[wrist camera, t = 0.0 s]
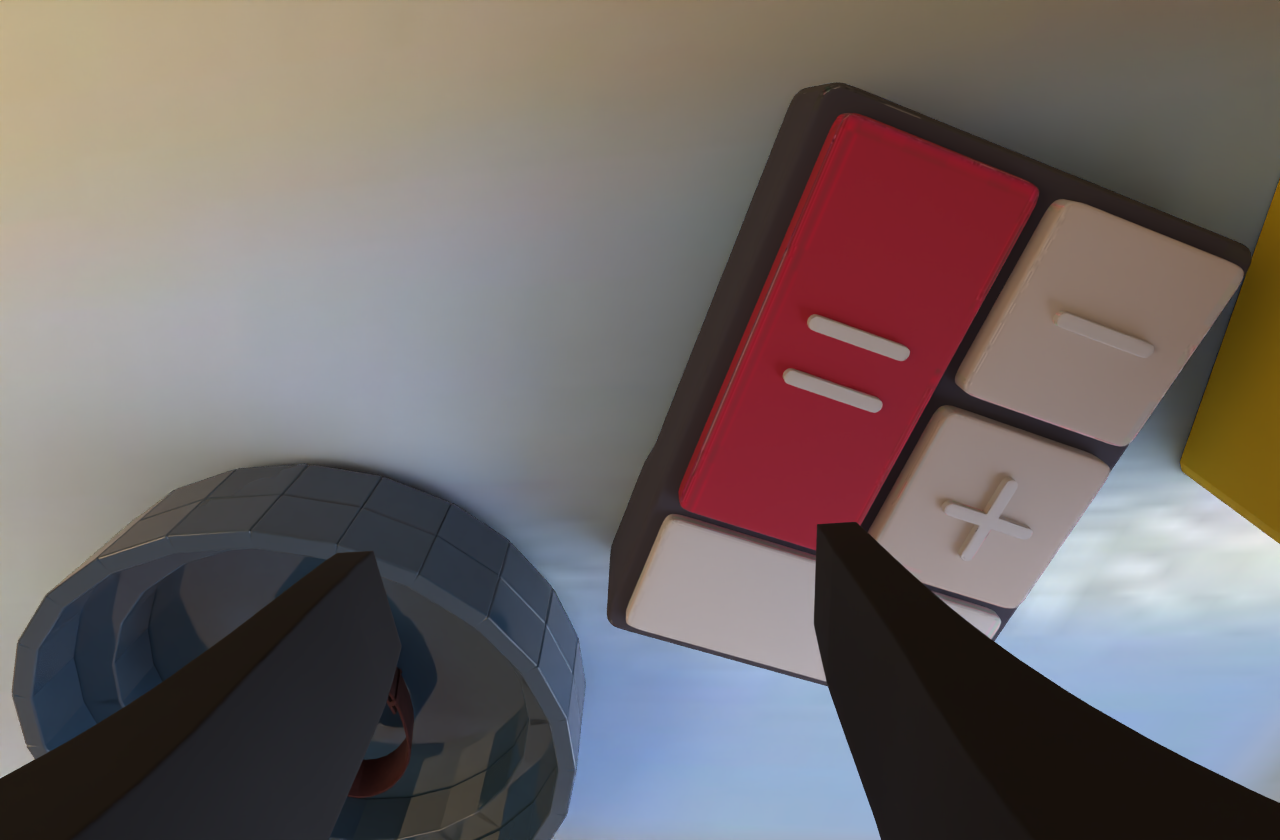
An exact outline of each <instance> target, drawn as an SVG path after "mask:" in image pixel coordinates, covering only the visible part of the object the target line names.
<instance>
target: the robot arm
mask: <svg viewBox="0 0 1280 840" xmlns="http://www.w3.org/2000/svg"><path fill="white" fill-rule="evenodd" d="M814 628H815V633H816V637H817V642H818V647H819V651H820V656H821V660H822V664H823V669H824V673H825V677H826V682H827V685H828V688H829V691H830V694H831V697H832V699H833V702H834V705H835V708H836V711H837V714H838V717H839V719H840V722H841V725H842V728H843V731H844V734H845V736H846V739H847V742H848V745H849V748H850V751H851V753H852V756H853V759H854V762H855V765H856V767H857V770H858V773H859V776H860V779H861V781H862V784H863V787H864V790H865V793H866V795H867V798H868V801H869V804H870V807H871V810H872V812H873V815H874V818H875V821H876V824H877V828H878V831H879V834H880V837H881V840H1280V803H1279V802H1276V801H1274V800H1272V799H1269V798H1267V797H1265V796H1263V795H1261V794H1258V793H1256V792H1254V791H1252V790H1250V789H1248V788H1246V787H1244V786H1242V785H1240V784H1238V783H1235V782H1233V781H1231V780H1229V779H1227V778H1225V777H1223V776H1221V775H1219V774H1217V773H1215V772H1213V771H1211V770H1209V769H1207V768H1205V767H1203V766H1201V765H1199V764H1197V763H1194V762H1192V761H1190V760H1188V759H1187V758H1185V757H1183V756H1181V755H1179V754H1177V753H1175V752H1173V751H1171V750H1169V749H1167V748H1165V747H1164V746H1162V745H1160V744H1158V743H1156V742H1154V741H1152V740H1150V739H1148V738H1147V737H1145V736H1143V735H1141V734H1139V733H1138V732H1136V731H1134V730H1132V729H1131V728H1129V727H1127V726H1125V725H1124V724H1122V723H1120V722H1118V721H1117V720H1115V719H1113V718H1111V717H1110V716H1108V715H1106V714H1104V713H1103V712H1101V711H1099V710H1097V709H1095V708H1094V707H1092V706H1090V705H1089V704H1087V703H1086V702H1084V701H1082V700H1081V699H1079V698H1077V697H1076V696H1074V695H1072V694H1071V693H1069V692H1068V691H1066V690H1064V689H1063V688H1061V687H1060V686H1058V685H1057V684H1055V683H1054V682H1052V681H1051V680H1049V679H1048V678H1046V677H1045V676H1043V675H1042V674H1040V673H1039V672H1037V671H1036V670H1034V669H1033V668H1031V667H1029V666H1028V665H1026V664H1025V663H1023V662H1022V661H1020V660H1019V659H1018V658H1016V657H1015V656H1013V655H1012V654H1011V653H1009V652H1008V651H1006V650H1005V649H1004V648H1002V647H1001V646H999V645H998V644H997V643H995V642H994V641H993V640H991V639H990V638H989V637H988V636H986V635H985V634H984V633H982V632H981V631H980V630H978V629H977V628H976V627H974V626H973V625H972V624H971V623H969V622H968V621H967V620H965V619H964V618H963V617H962V616H960V615H959V614H958V613H957V612H955V611H954V610H953V609H952V608H951V607H949V606H948V605H947V604H946V603H945V602H944V601H942V600H941V599H940V598H939V597H938V596H937V595H935V594H934V593H933V592H932V591H931V590H930V589H928V588H927V587H926V586H925V585H924V584H923V583H922V582H920V581H919V580H918V579H917V578H916V577H915V576H914V575H913V574H912V573H910V572H909V571H908V570H907V569H906V568H905V567H904V566H903V565H902V564H901V563H900V562H899V561H897V560H896V559H895V558H894V557H893V556H892V555H891V554H890V553H889V552H888V551H887V550H886V549H885V548H884V547H882V546H881V545H880V544H879V543H878V542H877V541H876V540H875V539H874V538H873V537H872V536H871V535H870V534H869V533H868V532H867V531H865V530H864V529H863V528H862V527H861V526H860V525H859V524H858V523H857V522H843V523H826V524H817V538H816V568H815V598H814ZM401 647H402V645H401V642H400V638H399V635H398V632H397V628H396V625H395V622H394V618H393V615H392V612H391V608H390V605H389V602H388V598H387V595H386V592H385V588H384V585H383V582H382V578H381V575H380V572H379V568H378V565H377V562H376V558H375V555H374V552H373V551H362V552H345V553H336V554H335V555H333V556H332V557H330V558H329V559H327V560H326V561H324V562H323V563H322V564H320V565H319V566H317V567H316V568H315V569H313V570H312V571H311V572H309V573H308V574H307V575H305V576H304V577H303V578H301V579H300V580H299V581H297V582H296V583H295V584H294V585H292V586H291V587H290V588H288V589H287V590H286V591H284V592H283V593H282V594H281V595H279V596H278V597H277V598H275V599H274V600H273V601H272V602H270V603H269V604H268V605H266V606H265V607H264V608H262V609H261V610H260V611H259V612H257V613H256V614H255V615H253V616H252V617H251V618H249V619H248V620H247V621H246V622H244V623H243V624H242V625H240V626H239V627H238V628H236V629H235V630H234V631H232V632H231V633H230V634H228V635H227V636H226V637H224V638H223V639H222V640H220V641H219V642H217V643H216V644H215V645H213V646H212V647H211V648H209V649H208V650H206V651H205V652H204V653H202V654H201V655H199V656H198V657H197V658H195V659H194V660H192V661H191V662H190V663H188V664H187V665H185V666H184V667H183V668H181V669H180V670H178V671H177V672H176V673H174V674H173V675H171V676H170V677H169V678H167V679H166V680H164V681H163V682H162V683H160V684H159V685H157V686H156V687H154V688H153V689H151V690H150V691H148V692H147V693H145V694H144V695H142V696H140V697H139V698H137V699H136V700H134V701H133V702H131V703H130V704H128V705H127V706H125V707H123V708H122V709H120V710H119V711H117V712H115V713H114V714H112V715H111V716H109V717H107V718H106V719H104V720H102V721H101V722H99V723H98V724H96V725H94V726H93V727H91V728H90V729H88V730H86V731H85V732H83V733H81V734H80V735H78V736H76V737H74V738H73V739H71V740H69V741H68V742H66V743H64V744H62V745H60V746H59V747H57V748H55V749H53V750H51V751H50V752H48V753H46V754H44V755H42V756H41V757H39V758H37V759H35V760H33V761H31V762H30V763H28V764H26V765H24V766H22V767H21V768H19V769H17V770H15V771H13V772H11V773H10V774H8V775H6V776H4V777H2V778H1V779H0V840H329V838H330V835H331V833H332V831H333V828H334V826H335V824H336V821H337V819H338V817H339V814H340V812H341V810H342V807H343V805H344V803H345V800H346V798H347V796H348V793H349V791H350V789H351V786H352V784H353V782H354V779H355V777H356V775H357V772H358V770H359V768H360V765H361V763H362V761H363V758H364V756H365V754H366V751H367V749H368V747H369V744H370V742H371V739H372V737H373V735H374V732H375V730H376V727H377V725H378V723H379V720H380V718H381V715H382V713H383V710H384V708H385V705H386V702H387V699H388V696H389V692H390V689H391V685H392V682H393V679H394V675H395V671H396V667H397V663H398V659H399V655H400V651H401Z"/></svg>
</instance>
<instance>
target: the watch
mask: <svg viewBox="0 0 1280 840" xmlns="http://www.w3.org/2000/svg"><path fill="white" fill-rule="evenodd" d="M401 674H402V670H401V669H398V667H396V671H395V675H394V679H393V682H392V685H391V689H390V692H389V696H388V699H387V704H388V706H389V707H390V709H391V711H392V713H393V714H396V712H397V710H398V713H399V715H400V718H401V721H402V724H403V727H404V731H405V734H406V738H405V740H404V741H403V742H402V743H401V744H400V746H399V747H398V748H397V749H396V750H394V751H393V752H391V753H390V754H388V755H386V756H383V757H380V758H377V759H369V760H364V759H363V761H362V763H361V765H360V768H359V770H358V772H357V775H356V777H355V779H354V782H353V784H352V786H351V789H350V791H349V793H348V797H355V798H365V797H372V796H375V795H378V794H380V793H383V792H385V791H387V790H388V789H390V788H392V787H393V786H394V785H395V784H396V783H397V782H398V781H399V779H400V778H401V777H402V776H403V774H404V772H405V770H406V768H407V766H408V764H409V761H410V757H411V747H412V737H413V725H414V712H413V705H412V702H411V698H410V694H409V692H408V689H407V686H406V684H405V681H404V679H403V677H402V675H401Z"/></svg>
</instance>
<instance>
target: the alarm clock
mask: <svg viewBox="0 0 1280 840" xmlns="http://www.w3.org/2000/svg"><path fill="white" fill-rule="evenodd" d="M1180 464H1181V470H1182V472H1184V473H1185V474H1186V475H1188V476H1189V477H1190V478H1191V479H1193V480H1194V481H1195V482H1197V483H1198V484H1200V485H1201V486H1202V487H1204V488H1205V489H1206V490H1208V491H1209V492H1210V493H1212V494H1213V495H1214V496H1216V497H1217V498H1218V499H1220V500H1221V501H1222V502H1224V503H1225V504H1226V505H1228V506H1229V507H1231V508H1232V509H1233V510H1235V511H1236V512H1237V513H1239V514H1240V515H1241V516H1243V517H1244V518H1245V519H1247V520H1248V521H1249V522H1251V523H1252V524H1253V525H1255V526H1256V527H1258V528H1259V529H1260V530H1262V531H1263V532H1264V533H1266V534H1267V535H1268V536H1270V537H1271V538H1272V539H1274V540H1275V541H1276V542H1278V543H1279V544H1280V180H1279V183H1278V185H1277V188H1276V191H1275V194H1274V197H1273V200H1272V202H1271V205H1270V208H1269V211H1268V214H1267V217H1266V219H1265V222H1264V225H1263V228H1262V231H1261V234H1260V236H1259V239H1258V242H1257V245H1256V248H1255V251H1254V253H1253V256H1252V260H1251V265H1250V267H1249V269H1248V271H1247V273H1246V276H1245V279H1244V282H1243V285H1242V287H1241V290H1240V293H1239V296H1238V299H1237V302H1236V304H1235V307H1234V310H1233V313H1232V316H1231V319H1230V321H1229V324H1228V327H1227V330H1226V333H1225V336H1224V338H1223V341H1222V344H1221V347H1220V350H1219V353H1218V355H1217V358H1216V361H1215V364H1214V367H1213V370H1212V372H1211V375H1210V378H1209V381H1208V384H1207V387H1206V389H1205V392H1204V395H1203V398H1202V401H1201V404H1200V406H1199V409H1198V412H1197V415H1196V418H1195V421H1194V423H1193V426H1192V429H1191V432H1190V435H1189V438H1188V440H1187V443H1186V446H1185V449H1184V452H1183V455H1182V457H1181V460H1180Z"/></svg>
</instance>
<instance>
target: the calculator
mask: <svg viewBox="0 0 1280 840" xmlns="http://www.w3.org/2000/svg"><path fill="white" fill-rule="evenodd" d="M1251 260H1252V256H1251V252H1250V250H1249V249H1248V248H1247V247H1246V246H1245V245H1243V244H1241V243H1239V242H1237V241H1234V240H1232V239H1229V238H1227V237H1224V236H1222V235H1219V234H1217V233H1214V232H1212V231H1209V230H1207V229H1205V228H1202V227H1200V226H1197V225H1195V224H1192V223H1190V222H1187V221H1185V220H1182V219H1180V218H1177V217H1175V216H1172V215H1170V214H1168V213H1165V212H1163V211H1160V210H1158V209H1155V208H1153V207H1150V206H1148V205H1145V204H1143V203H1140V202H1138V201H1135V200H1133V199H1130V198H1128V197H1126V196H1123V195H1121V194H1118V193H1116V192H1113V191H1111V190H1108V189H1106V188H1103V187H1101V186H1098V185H1096V184H1093V183H1091V182H1088V181H1086V180H1084V179H1081V178H1079V177H1076V176H1074V175H1071V174H1069V173H1066V172H1064V171H1061V170H1059V169H1056V168H1054V167H1051V166H1049V165H1046V164H1044V163H1042V162H1039V161H1037V160H1034V159H1032V158H1029V157H1027V156H1024V155H1022V154H1019V153H1017V152H1014V151H1012V150H1009V149H1007V148H1004V147H1002V146H1000V145H997V144H995V143H992V142H990V141H987V140H985V139H982V138H980V137H977V136H975V135H972V134H970V133H967V132H965V131H962V130H960V129H958V128H955V127H953V126H950V125H948V124H945V123H943V122H940V121H938V120H935V119H933V118H930V117H928V116H925V115H923V114H920V113H918V112H916V111H913V110H911V109H908V108H906V107H903V106H901V105H898V104H896V103H893V102H891V101H888V100H886V99H883V98H881V97H878V96H876V95H874V94H871V93H869V92H866V91H864V90H861V89H859V88H856V87H853V86H850V85H847V84H844V83H830V84H824V85H819V86H814V87H808V88H805V89H803V90H801V91H799V92H798V93H797V94H796V95H795V96H794V98H793V99H792V101H791V103H790V105H789V108H788V110H787V113H786V115H785V118H784V120H783V123H782V125H781V128H780V130H779V133H778V135H777V138H776V140H775V143H774V145H773V148H772V150H771V153H770V155H769V158H768V161H767V163H766V166H765V168H764V171H763V173H762V176H761V178H760V181H759V183H758V186H757V188H756V191H755V193H754V196H753V198H752V201H751V204H750V206H749V209H748V211H747V214H746V216H745V219H744V221H743V224H742V226H741V229H740V231H739V234H738V236H737V239H736V241H735V244H734V247H733V249H732V252H731V254H730V257H729V259H728V262H727V264H726V267H725V269H724V272H723V274H722V277H721V279H720V282H719V284H718V287H717V290H716V292H715V295H714V297H713V300H712V302H711V305H710V307H709V310H708V312H707V315H706V317H705V320H704V322H703V325H702V327H701V330H700V333H699V335H698V338H697V340H696V343H695V345H694V348H693V350H692V353H691V355H690V358H689V360H688V363H687V365H686V368H685V370H684V373H683V376H682V378H681V381H680V383H679V386H678V388H677V391H676V393H675V396H674V398H673V401H672V403H671V406H670V408H669V411H668V413H667V416H666V418H665V421H664V424H663V426H662V429H661V431H660V434H659V436H658V439H657V441H656V443H655V446H654V447H653V449H652V451H651V453H650V454H649V456H648V458H647V459H646V461H645V463H644V465H643V468H642V470H641V473H640V475H639V478H638V480H637V483H636V485H635V488H634V490H633V493H632V495H631V498H630V500H629V503H628V505H627V508H626V511H625V513H624V516H623V518H622V521H621V523H620V526H619V528H618V531H617V533H616V536H615V538H614V541H613V544H612V547H611V554H610V569H609V586H608V604H607V617H608V620H609V622H610V623H611V624H612V625H613V626H615V627H617V628H620V629H624V630H627V631H631V632H634V633H638V634H641V635H645V636H649V637H652V638H656V639H659V640H663V641H667V642H670V643H674V644H677V645H681V646H685V647H688V648H692V649H695V650H699V651H703V652H706V653H710V654H713V655H717V656H721V657H724V658H728V659H731V660H735V661H739V662H742V663H746V664H749V665H753V666H757V667H760V668H764V669H767V670H771V671H775V672H778V673H782V674H785V675H789V676H793V677H796V678H800V679H803V680H807V681H811V682H814V683H818V684H821V685H825V686H828V685H827V682H826V677H825V673H824V669H823V664H822V660H821V656H820V651H819V647H818V642H817V637H816V633H815V628H814V598H815V568H816V538H817V524H826V523H843V522H857V523H858V524H859V525H860V526H861V527H862V528H863V529H864V530H865V531H867V532H868V533H869V534H870V535H871V536H872V537H873V538H874V539H875V540H876V541H877V542H878V543H879V544H880V545H881V546H882V547H884V548H885V549H886V550H887V551H888V552H889V553H890V554H891V555H892V556H893V557H894V558H895V559H896V560H897V561H899V562H900V563H901V564H902V565H903V566H904V567H905V568H906V569H907V570H908V571H909V572H910V573H912V574H913V575H914V576H915V577H916V578H917V579H918V580H919V581H920V582H922V583H923V584H924V585H925V586H926V587H927V588H928V589H930V590H931V591H932V592H933V593H934V594H935V595H937V596H938V597H939V598H940V599H941V600H942V601H944V602H945V603H946V604H947V605H948V606H949V607H951V608H952V609H953V610H954V611H955V612H957V613H958V614H959V615H960V616H962V617H963V618H964V619H965V620H967V621H968V622H969V623H971V624H972V625H973V626H974V627H976V628H977V629H978V630H980V631H981V632H982V633H984V634H985V635H986V636H988V637H989V638H990V639H991V640H993V641H995V639H996V638H997V637H998V635H999V634H1000V632H1001V631H1002V629H1003V628H1004V626H1005V625H1006V623H1007V622H1008V620H1009V619H1010V618H1011V616H1012V615H1013V613H1014V612H1015V610H1016V609H1017V607H1018V606H1019V605H1020V604H1021V603H1022V602H1023V600H1024V599H1025V598H1026V596H1027V595H1028V593H1029V592H1030V590H1031V589H1032V588H1033V586H1034V585H1035V583H1036V582H1037V580H1038V579H1039V577H1040V576H1041V574H1042V573H1043V572H1044V570H1045V569H1046V567H1047V566H1048V564H1049V563H1050V561H1051V560H1052V558H1053V557H1054V555H1055V554H1056V553H1057V551H1058V550H1059V548H1060V547H1061V545H1062V544H1063V542H1064V541H1065V539H1066V538H1067V537H1068V535H1069V534H1070V532H1071V531H1072V529H1073V528H1074V526H1075V525H1076V523H1077V522H1078V520H1079V519H1080V518H1081V516H1082V515H1083V513H1084V512H1085V510H1086V509H1087V507H1088V506H1089V504H1090V503H1091V501H1092V500H1093V499H1094V497H1095V496H1096V494H1097V493H1098V491H1099V490H1100V488H1101V487H1102V485H1103V484H1104V483H1105V481H1106V479H1107V477H1108V475H1109V473H1110V471H1111V470H1112V468H1113V467H1114V466H1115V464H1116V463H1117V461H1118V460H1119V458H1120V457H1121V455H1122V454H1123V452H1124V451H1125V449H1126V448H1127V447H1128V445H1129V444H1130V442H1131V441H1132V440H1133V439H1134V438H1135V437H1136V436H1137V434H1138V433H1139V431H1140V430H1141V428H1142V427H1143V426H1144V424H1145V423H1146V421H1147V420H1148V418H1149V417H1150V415H1151V414H1152V412H1153V411H1154V409H1155V408H1156V407H1157V405H1158V404H1159V402H1160V401H1161V399H1162V398H1163V396H1164V395H1165V393H1166V392H1167V391H1168V389H1169V388H1170V386H1171V385H1172V383H1173V382H1174V380H1175V379H1176V377H1177V376H1178V374H1179V373H1180V372H1181V370H1182V369H1183V367H1184V366H1185V364H1186V363H1187V361H1188V360H1189V358H1190V357H1191V356H1192V354H1193V353H1194V351H1195V350H1196V348H1197V347H1198V345H1199V344H1200V342H1201V341H1202V339H1203V338H1204V337H1205V335H1206V334H1207V332H1208V331H1209V329H1210V328H1211V326H1212V325H1213V323H1214V322H1215V321H1216V319H1217V318H1218V316H1219V315H1220V313H1221V312H1222V310H1223V309H1224V307H1225V306H1226V304H1227V303H1228V302H1229V300H1230V299H1231V297H1232V296H1233V294H1234V293H1235V291H1236V290H1237V288H1238V287H1239V285H1240V283H1241V281H1242V279H1243V277H1244V276H1245V274H1246V272H1247V271H1248V269H1249V267H1250V265H1251Z"/></svg>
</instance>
